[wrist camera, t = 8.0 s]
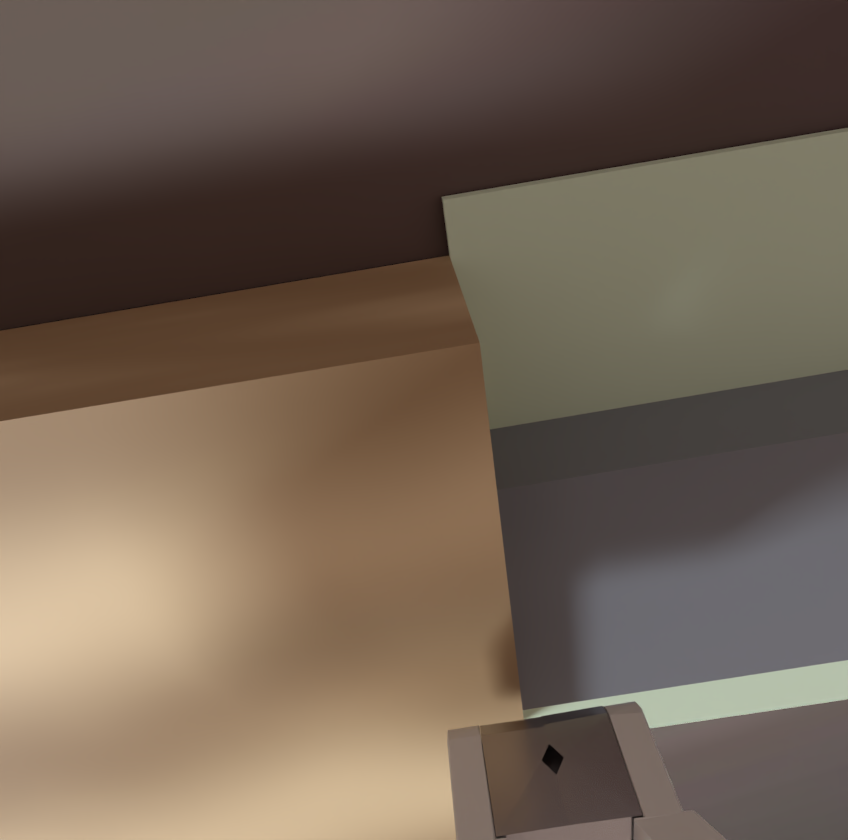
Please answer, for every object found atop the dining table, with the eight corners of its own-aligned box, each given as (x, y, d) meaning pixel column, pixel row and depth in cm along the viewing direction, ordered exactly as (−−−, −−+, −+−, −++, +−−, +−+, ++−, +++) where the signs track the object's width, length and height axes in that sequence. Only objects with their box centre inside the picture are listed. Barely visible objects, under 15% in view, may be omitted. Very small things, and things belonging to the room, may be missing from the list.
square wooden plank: (510, 716, 17) (542, 877, 14) (-47, 799, 18) (-151, 976, 14) (449, 255, 11) (479, 342, 8) (-417, 400, 11) (-766, 547, 8)
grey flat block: (871, 580, 15) (933, 646, 13) (503, 638, 15) (518, 710, 14) (930, 355, 12) (1021, 403, 11) (474, 432, 13) (488, 491, 11)
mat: (972, 670, 18) (981, 679, 17) (513, 738, 18) (515, 748, 18) (1230, 62, 10) (1252, 62, 10) (441, 196, 11) (442, 200, 10)
